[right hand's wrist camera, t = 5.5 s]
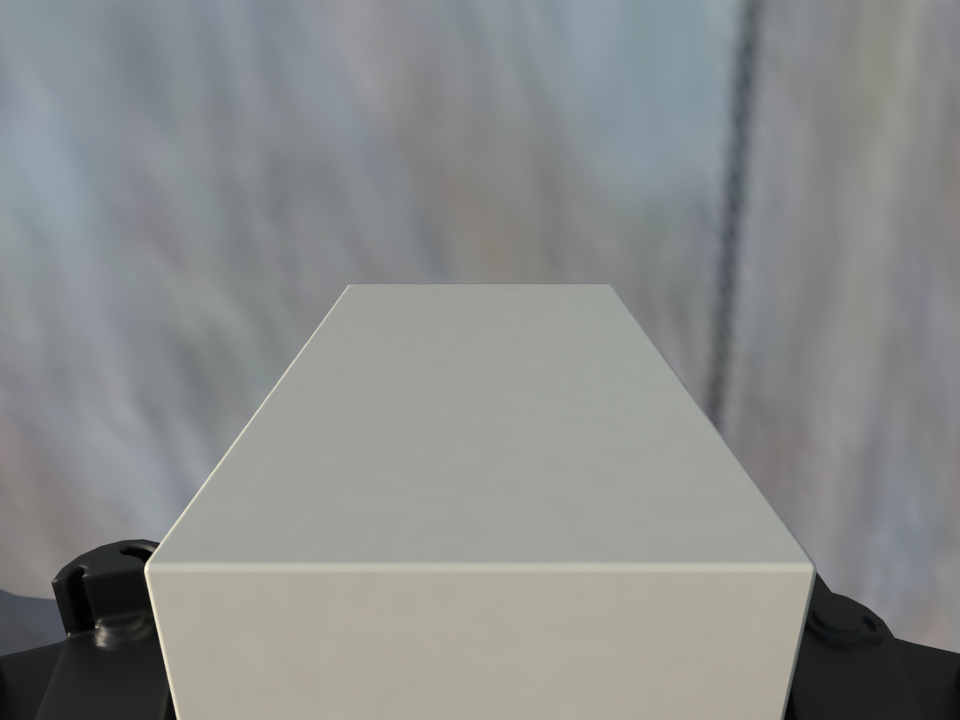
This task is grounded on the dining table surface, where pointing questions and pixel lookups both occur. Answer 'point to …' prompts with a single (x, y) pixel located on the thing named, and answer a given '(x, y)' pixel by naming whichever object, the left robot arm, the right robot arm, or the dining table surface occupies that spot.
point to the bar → (480, 529)
